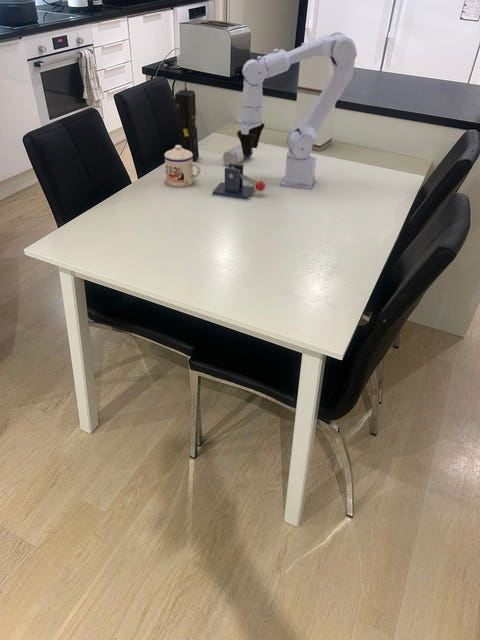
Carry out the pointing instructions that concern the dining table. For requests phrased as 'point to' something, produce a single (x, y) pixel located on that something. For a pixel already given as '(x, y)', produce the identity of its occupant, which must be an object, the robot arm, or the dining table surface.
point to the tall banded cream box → (314, 95)
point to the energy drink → (235, 155)
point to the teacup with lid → (180, 167)
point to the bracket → (233, 184)
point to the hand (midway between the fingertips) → (250, 151)
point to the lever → (252, 181)
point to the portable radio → (187, 121)
